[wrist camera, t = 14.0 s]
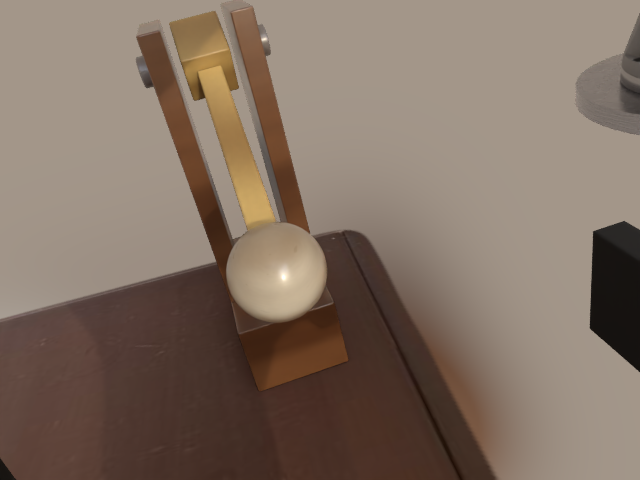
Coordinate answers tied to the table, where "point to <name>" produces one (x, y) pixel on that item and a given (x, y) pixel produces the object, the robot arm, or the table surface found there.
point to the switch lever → (249, 190)
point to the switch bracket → (322, 320)
